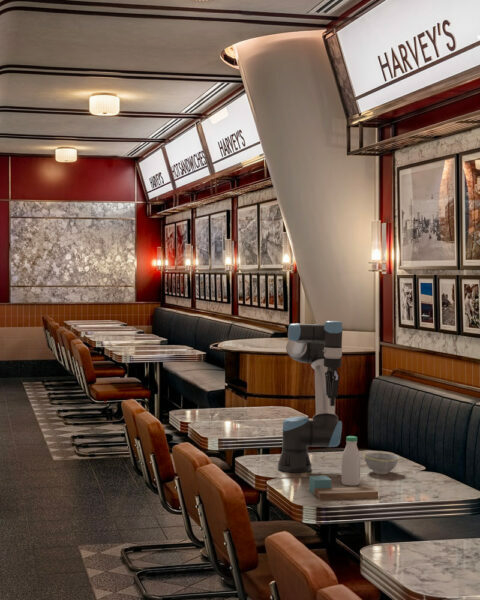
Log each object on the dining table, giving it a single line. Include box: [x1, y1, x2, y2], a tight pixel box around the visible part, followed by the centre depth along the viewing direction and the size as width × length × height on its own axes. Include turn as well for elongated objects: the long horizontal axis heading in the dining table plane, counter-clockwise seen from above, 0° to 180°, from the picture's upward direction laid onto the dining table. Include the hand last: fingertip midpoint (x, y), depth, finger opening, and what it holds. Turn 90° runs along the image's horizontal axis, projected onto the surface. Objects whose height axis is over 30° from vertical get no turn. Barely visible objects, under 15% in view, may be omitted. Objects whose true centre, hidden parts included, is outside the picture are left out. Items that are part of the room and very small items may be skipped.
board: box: [313, 486, 379, 501], centre depth 351 cm, size 8×24×2 cm, turn 102°
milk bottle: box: [340, 435, 361, 487], centre depth 372 cm, size 8×8×20 cm
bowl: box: [363, 452, 400, 475], centre depth 395 cm, size 16×16×8 cm
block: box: [308, 475, 332, 495], centre depth 356 cm, size 7×7×6 cm
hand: (331, 413), depth 373 cm, fingers closed
